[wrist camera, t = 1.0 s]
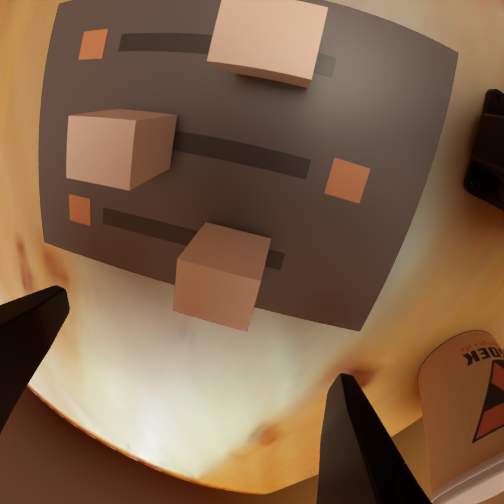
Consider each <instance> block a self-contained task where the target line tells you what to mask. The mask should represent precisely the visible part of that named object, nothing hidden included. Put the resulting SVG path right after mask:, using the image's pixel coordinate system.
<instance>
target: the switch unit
mask: <svg viewBox="0 0 504 504" xmlns="http://www.w3.org/2000/svg"><path fill="white" fill-rule="evenodd" d="M221 1H222V0H71V1H67V2H63V3H60V4H59V6H58V10H57V13H56V17H55V21H54V25H53V30H52V34H51V39H50V44H49V49H48V54H47V60H46V66H45V73H44V80H43V88H42V97H41V109H40V123H39V190H40V205H41V217H42V227H43V235H44V242H45V243H48V244H51V245H53V246H56V247H59V248H62V249H65V250H68V251H70V252H73V253H76V254H79V255H82V256H85V257H88V258H91V259H94V260H97V261H100V262H103V263H106V264H109V265H112V266H115V267H118V268H121V269H124V270H127V271H130V272H134V273H137V274H140V275H143V276H146V277H150V278H153V279H156V280H160V281H163V282H166V283H170V284H173V285H175V281H176V268H177V259H178V257H179V256H180V255H181V253H182V252H183V251H184V249H185V248H186V247H187V246H188V244H189V243H190V242H191V240H192V239H193V238H194V236H195V235H196V234H197V233H198V231H199V230H200V229H201V228H202V226H203V225H204V224H205V222H207V223H211V224H215V225H219V226H223V227H227V228H231V229H235V230H239V231H243V232H247V233H251V234H255V235H259V236H263V237H267V238H271V241H270V246H269V250H268V254H267V258H266V262H265V267H264V271H263V275H262V279H261V283H260V287H259V290H258V294H257V298H256V302H255V305H254V307H256V308H260V309H264V310H268V311H272V312H276V313H280V314H285V315H289V316H293V317H297V318H301V319H306V320H310V321H314V322H319V323H323V324H327V325H332V326H337V327H341V328H346V329H350V330H355V331H360V330H361V328H362V326H363V325H364V323H365V321H366V319H367V317H368V315H369V313H370V311H371V309H372V307H373V306H374V304H375V302H376V300H377V298H378V296H379V294H380V292H381V289H382V287H383V285H384V283H385V281H386V279H387V277H388V275H389V273H390V271H391V268H392V266H393V264H394V262H395V259H396V257H397V255H398V253H399V250H400V248H401V246H402V243H403V241H404V239H405V236H406V234H407V231H408V229H409V226H410V224H411V221H412V219H413V216H414V214H415V211H416V208H417V206H418V203H419V200H420V198H421V195H422V192H423V189H424V186H425V183H426V181H427V178H428V175H429V172H430V168H431V165H432V162H433V159H434V156H435V152H436V149H437V146H438V142H439V139H440V135H441V132H442V128H443V124H444V120H445V116H446V112H447V108H448V104H449V99H450V95H451V90H452V86H453V81H454V76H455V70H456V65H457V59H458V53H457V52H456V51H454V50H452V49H450V48H448V47H446V46H444V45H443V44H441V43H439V42H437V41H435V40H433V39H430V38H428V37H426V36H424V35H422V34H420V33H418V32H415V31H413V30H411V29H408V28H406V27H404V26H401V25H399V24H396V23H394V22H391V21H389V20H386V19H383V18H380V17H378V16H375V15H372V14H369V13H366V12H363V11H360V10H357V9H353V8H350V7H347V6H343V5H339V4H336V3H332V2H328V1H324V0H297V1H302V2H307V3H312V4H316V5H320V6H324V7H328V11H327V15H326V20H325V24H324V29H323V33H322V37H321V42H320V46H319V50H318V55H317V59H316V63H315V68H314V72H313V76H312V80H311V83H310V86H309V88H305V87H301V86H297V85H292V84H288V83H283V82H279V81H274V80H269V79H264V78H259V77H253V76H247V75H241V74H235V73H231V72H229V71H227V70H225V69H223V68H221V67H219V66H217V65H214V64H212V63H210V62H208V61H207V58H208V54H209V49H210V45H211V40H212V36H213V32H214V28H215V24H216V20H217V16H218V12H219V8H220V4H221ZM114 109H125V110H137V111H147V112H157V113H165V114H173V115H177V120H176V127H175V133H174V140H173V147H172V155H171V162H170V169H168V170H166V171H164V172H162V173H161V174H159V175H157V176H155V177H153V178H151V179H150V180H148V181H146V182H144V183H142V184H141V185H139V186H137V187H135V188H134V189H132V190H130V191H128V190H123V189H119V188H114V187H109V186H104V185H100V184H95V183H90V182H85V181H80V180H75V179H70V178H66V153H67V131H68V117H69V116H70V115H76V114H82V113H89V112H97V111H105V110H114Z"/></svg>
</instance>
